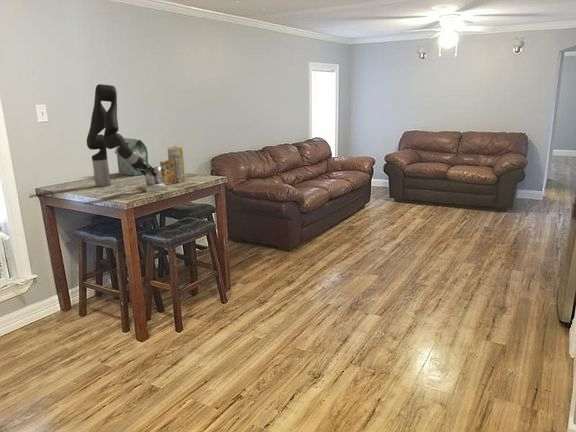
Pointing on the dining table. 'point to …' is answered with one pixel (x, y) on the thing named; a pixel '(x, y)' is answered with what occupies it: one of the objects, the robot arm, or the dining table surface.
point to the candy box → (168, 172)
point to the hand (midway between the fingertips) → (150, 175)
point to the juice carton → (177, 162)
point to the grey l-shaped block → (154, 187)
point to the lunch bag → (136, 147)
